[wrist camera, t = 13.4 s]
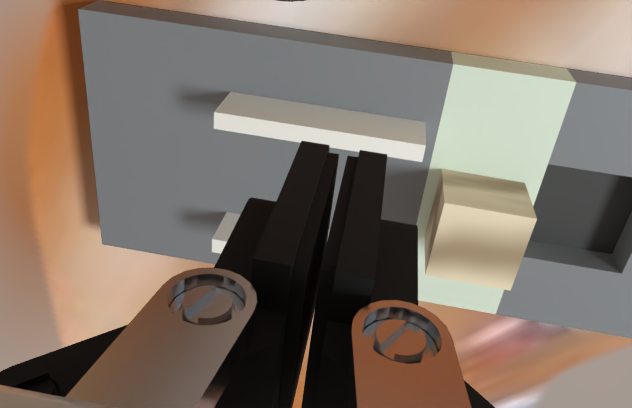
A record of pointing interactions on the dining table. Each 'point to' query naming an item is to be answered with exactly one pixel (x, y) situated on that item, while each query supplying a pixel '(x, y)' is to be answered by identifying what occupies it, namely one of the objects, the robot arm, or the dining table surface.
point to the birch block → (478, 229)
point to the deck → (359, 145)
